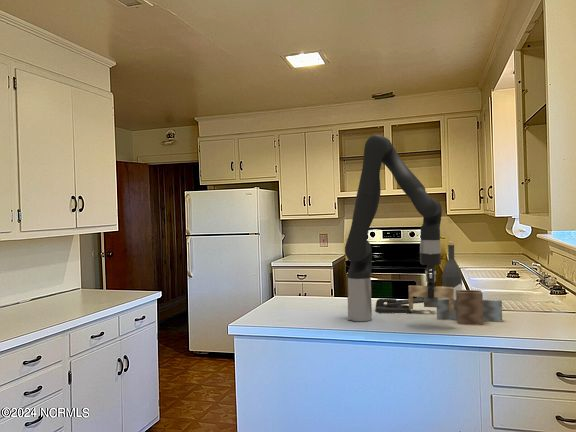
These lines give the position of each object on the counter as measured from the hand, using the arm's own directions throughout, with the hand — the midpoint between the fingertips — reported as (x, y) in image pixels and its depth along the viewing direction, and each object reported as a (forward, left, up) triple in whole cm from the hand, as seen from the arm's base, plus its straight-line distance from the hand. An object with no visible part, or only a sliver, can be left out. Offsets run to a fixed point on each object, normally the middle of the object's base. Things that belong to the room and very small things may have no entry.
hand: (430, 297), depth 168 cm
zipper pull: (-11, +23, -12) cm, 28 cm away
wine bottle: (+9, +28, -11) cm, 32 cm away
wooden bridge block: (0, 0, -5) cm, 5 cm away
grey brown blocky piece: (+14, +9, -11) cm, 20 cm away
